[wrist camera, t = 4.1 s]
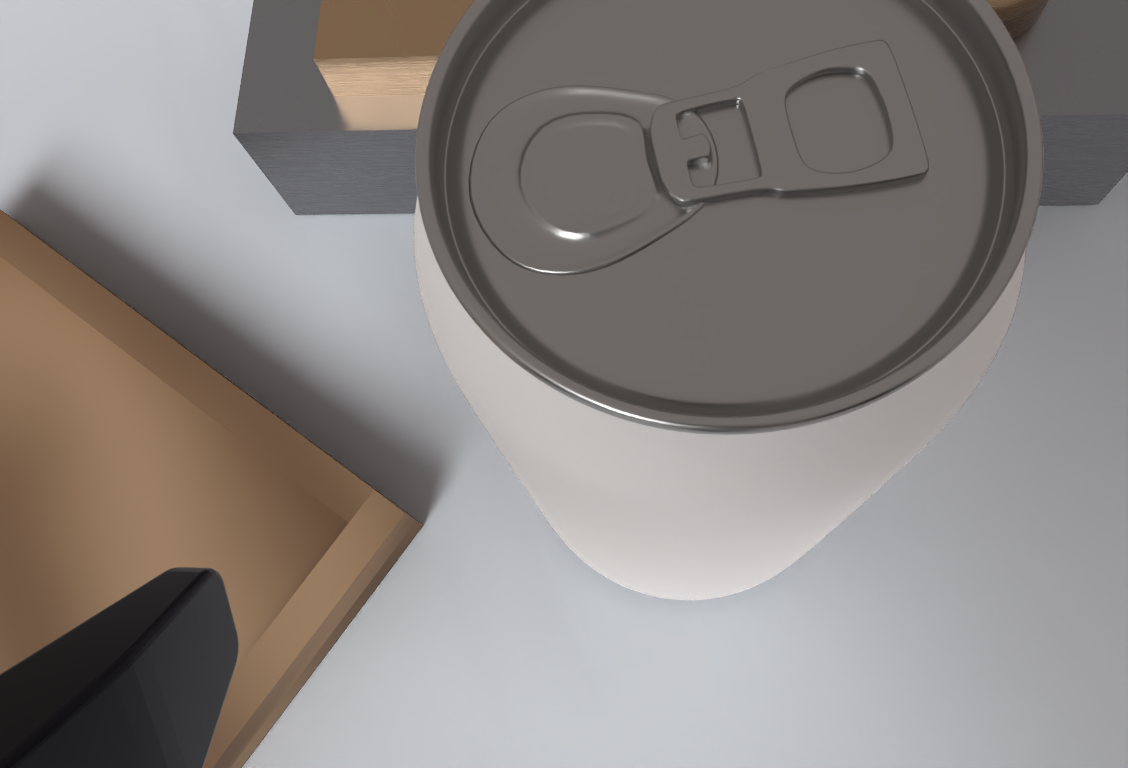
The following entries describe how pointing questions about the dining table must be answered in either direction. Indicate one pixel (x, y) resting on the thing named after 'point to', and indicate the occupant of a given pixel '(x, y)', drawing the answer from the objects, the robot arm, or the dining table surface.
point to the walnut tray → (166, 491)
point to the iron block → (437, 3)
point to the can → (720, 258)
